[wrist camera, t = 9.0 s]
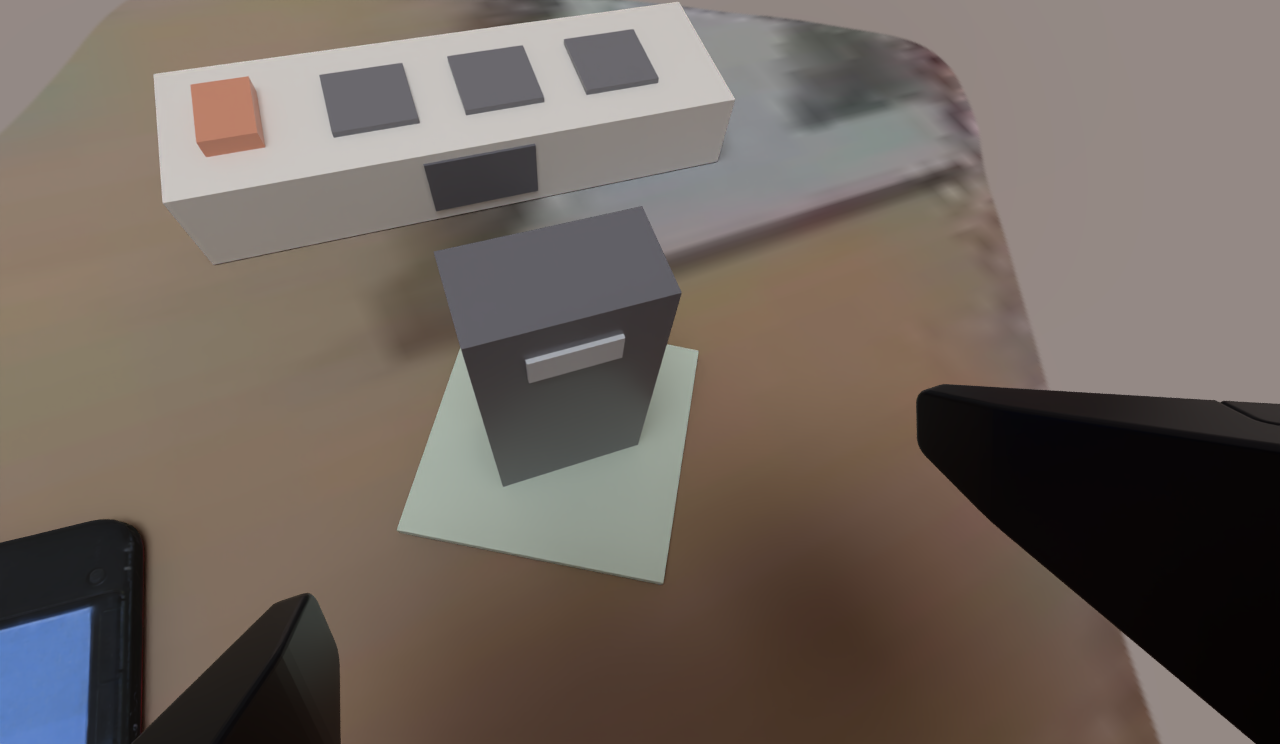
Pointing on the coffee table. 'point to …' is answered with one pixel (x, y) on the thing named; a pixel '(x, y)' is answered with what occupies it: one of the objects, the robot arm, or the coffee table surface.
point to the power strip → (432, 127)
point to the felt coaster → (557, 487)
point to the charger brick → (562, 336)
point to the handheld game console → (72, 635)
